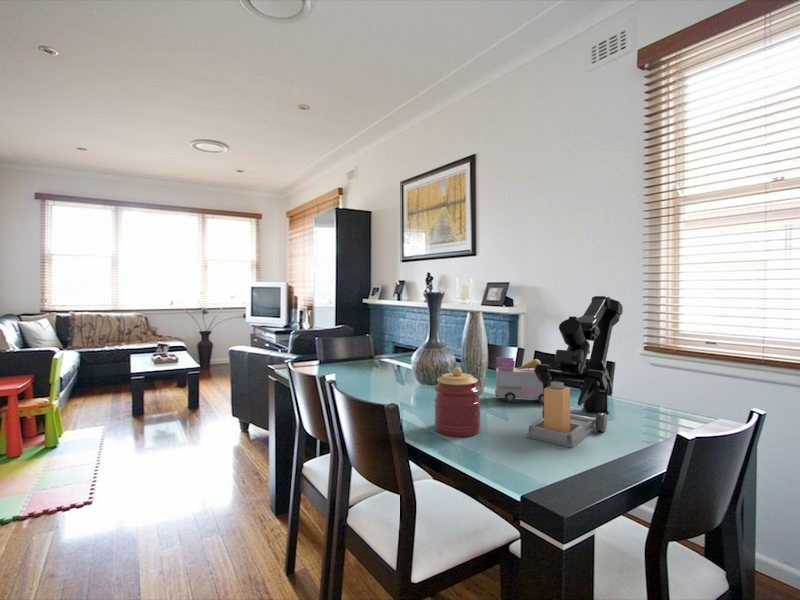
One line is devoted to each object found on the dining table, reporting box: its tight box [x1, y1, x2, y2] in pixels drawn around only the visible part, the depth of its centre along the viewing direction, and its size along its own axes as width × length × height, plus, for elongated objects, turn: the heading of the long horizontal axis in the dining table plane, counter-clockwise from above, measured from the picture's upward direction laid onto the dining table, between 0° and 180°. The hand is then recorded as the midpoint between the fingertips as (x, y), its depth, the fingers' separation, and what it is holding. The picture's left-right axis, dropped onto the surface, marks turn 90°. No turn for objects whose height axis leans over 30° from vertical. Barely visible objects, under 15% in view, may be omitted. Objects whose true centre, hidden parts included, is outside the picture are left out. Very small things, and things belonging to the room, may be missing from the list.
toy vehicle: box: [494, 356, 544, 405], centre depth 151 cm, size 9×20×15 cm, turn 78°
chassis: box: [526, 406, 608, 449], centre depth 118 cm, size 22×17×5 cm
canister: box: [433, 366, 482, 438], centre depth 120 cm, size 13×13×18 cm
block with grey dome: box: [543, 380, 571, 434], centre depth 114 cm, size 5×5×14 cm
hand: (561, 402), depth 116 cm, fingers open, 9 cm apart
